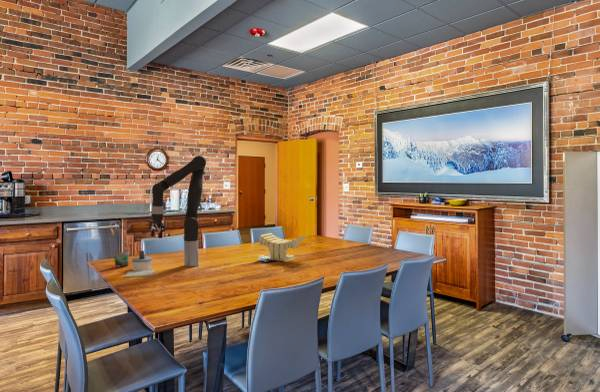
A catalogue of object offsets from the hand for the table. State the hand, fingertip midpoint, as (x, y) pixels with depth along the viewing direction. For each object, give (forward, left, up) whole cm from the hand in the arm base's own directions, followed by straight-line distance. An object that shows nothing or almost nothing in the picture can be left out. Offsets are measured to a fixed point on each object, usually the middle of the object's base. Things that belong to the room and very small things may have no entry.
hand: (156, 237), depth 244 cm
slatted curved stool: (-86, -3, -21) cm, 89 cm away
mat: (+8, +15, -20) cm, 26 cm away
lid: (+9, +2, -14) cm, 17 cm away
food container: (+22, -9, -21) cm, 31 cm away
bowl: (+9, +2, -20) cm, 22 cm away
